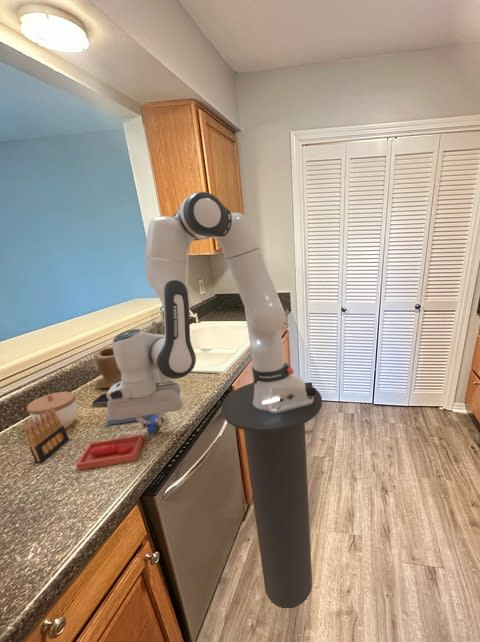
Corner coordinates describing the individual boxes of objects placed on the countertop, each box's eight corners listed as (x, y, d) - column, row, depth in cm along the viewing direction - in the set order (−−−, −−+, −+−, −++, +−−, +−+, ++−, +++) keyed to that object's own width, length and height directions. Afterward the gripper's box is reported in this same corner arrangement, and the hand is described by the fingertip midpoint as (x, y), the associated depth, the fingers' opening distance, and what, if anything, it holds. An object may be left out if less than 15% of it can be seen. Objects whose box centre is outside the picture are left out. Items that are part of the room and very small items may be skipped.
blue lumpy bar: (145, 436, 97) (143, 429, 96) (151, 418, 106) (150, 412, 105) (158, 434, 98) (156, 427, 97) (163, 417, 107) (161, 410, 106)
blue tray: (159, 404, 116) (158, 399, 116) (154, 418, 108) (153, 413, 107) (117, 410, 114) (115, 405, 113) (108, 425, 105) (107, 420, 104)
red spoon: (94, 452, 91) (91, 444, 90) (133, 446, 93) (130, 438, 92) (89, 460, 88) (86, 452, 87) (130, 453, 90) (127, 446, 89)
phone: (131, 401, 116) (90, 403, 117) (132, 404, 117) (91, 406, 117) (141, 391, 124) (103, 393, 124) (142, 394, 124) (103, 395, 124)
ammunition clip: (41, 462, 89) (25, 425, 84) (35, 462, 89) (18, 425, 84) (69, 439, 98) (55, 405, 94) (63, 439, 99) (49, 405, 94)
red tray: (143, 439, 96) (142, 434, 96) (136, 460, 88) (134, 454, 87) (91, 448, 94) (89, 442, 93) (78, 470, 85) (76, 464, 84)
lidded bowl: (89, 412, 113) (79, 384, 109) (73, 432, 102) (62, 401, 97) (48, 417, 111) (37, 389, 107) (29, 439, 100) (14, 408, 95)
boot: (120, 390, 128) (109, 355, 123) (92, 390, 130) (80, 355, 124) (140, 374, 142) (131, 342, 136) (114, 374, 143) (105, 342, 137)
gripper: (179, 376, 99) (188, 415, 104) (106, 386, 95) (119, 425, 100) (177, 384, 93) (186, 425, 98) (99, 395, 89) (113, 437, 95)
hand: (152, 425), depth 99 cm, fingers closed on blue lumpy bar, 2 cm apart
